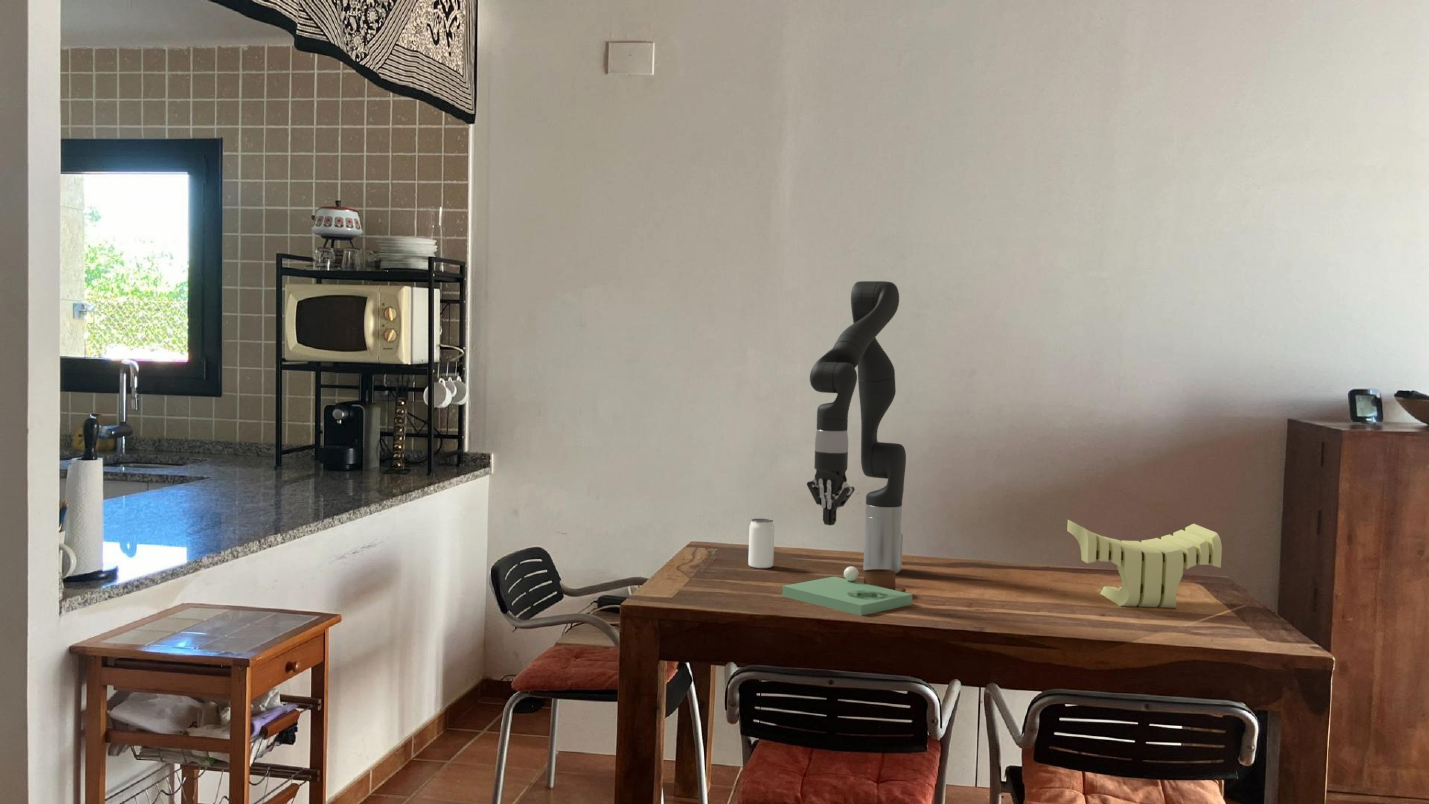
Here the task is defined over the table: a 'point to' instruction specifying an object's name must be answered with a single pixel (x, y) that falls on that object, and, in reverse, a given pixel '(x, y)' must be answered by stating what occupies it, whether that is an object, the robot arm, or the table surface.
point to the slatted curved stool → (1150, 562)
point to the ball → (851, 573)
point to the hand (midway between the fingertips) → (829, 524)
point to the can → (761, 543)
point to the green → (847, 595)
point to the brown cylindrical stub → (881, 579)
